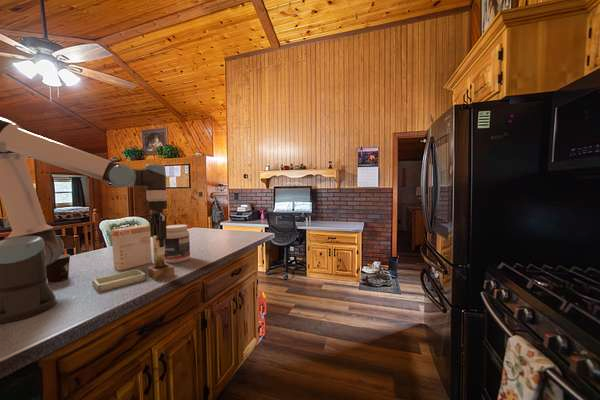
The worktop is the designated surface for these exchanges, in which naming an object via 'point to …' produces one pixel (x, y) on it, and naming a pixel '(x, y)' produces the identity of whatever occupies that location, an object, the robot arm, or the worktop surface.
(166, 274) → the socket block
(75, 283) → the worktop surface
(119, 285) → the tray
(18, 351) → the worktop surface
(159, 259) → the pin
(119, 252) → the coffeecake box
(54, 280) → the coffee mug
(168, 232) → the supplement tub
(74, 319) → the worktop surface
